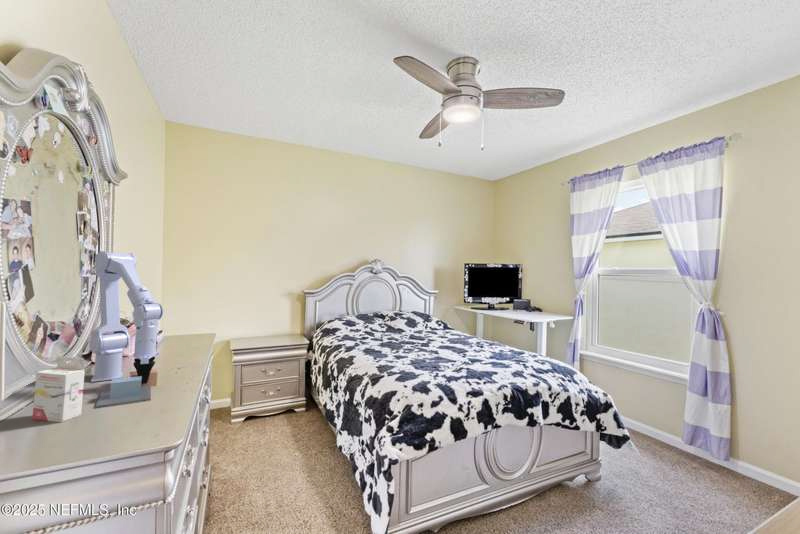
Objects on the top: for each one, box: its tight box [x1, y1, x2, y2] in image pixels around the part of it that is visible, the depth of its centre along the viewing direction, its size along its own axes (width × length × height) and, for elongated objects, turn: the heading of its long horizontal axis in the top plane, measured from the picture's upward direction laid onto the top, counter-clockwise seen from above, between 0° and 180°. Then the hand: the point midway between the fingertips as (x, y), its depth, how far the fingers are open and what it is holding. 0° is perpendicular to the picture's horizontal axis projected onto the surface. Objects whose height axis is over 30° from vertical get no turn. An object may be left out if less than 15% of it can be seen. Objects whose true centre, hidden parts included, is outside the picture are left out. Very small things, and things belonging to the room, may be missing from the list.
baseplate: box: [95, 385, 152, 409], centre depth 101 cm, size 14×12×1 cm
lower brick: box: [109, 376, 142, 399], centre depth 101 cm, size 4×7×4 cm, turn 127°
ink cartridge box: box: [31, 355, 86, 423], centre depth 85 cm, size 9×5×15 cm, turn 84°
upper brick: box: [129, 368, 158, 387], centre depth 111 cm, size 4×7×4 cm, turn 130°
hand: (143, 381), depth 111 cm, fingers closed on upper brick, 5 cm apart
